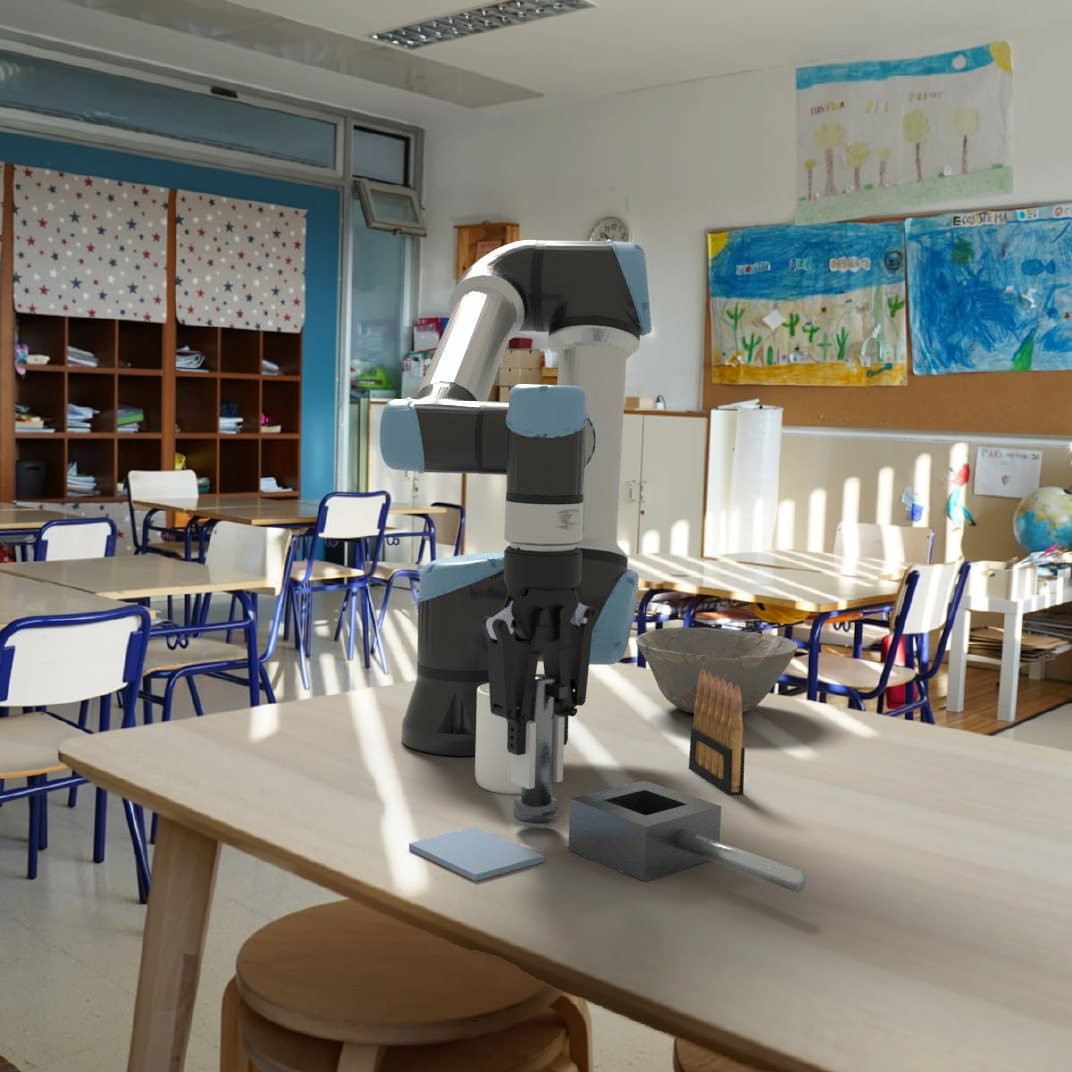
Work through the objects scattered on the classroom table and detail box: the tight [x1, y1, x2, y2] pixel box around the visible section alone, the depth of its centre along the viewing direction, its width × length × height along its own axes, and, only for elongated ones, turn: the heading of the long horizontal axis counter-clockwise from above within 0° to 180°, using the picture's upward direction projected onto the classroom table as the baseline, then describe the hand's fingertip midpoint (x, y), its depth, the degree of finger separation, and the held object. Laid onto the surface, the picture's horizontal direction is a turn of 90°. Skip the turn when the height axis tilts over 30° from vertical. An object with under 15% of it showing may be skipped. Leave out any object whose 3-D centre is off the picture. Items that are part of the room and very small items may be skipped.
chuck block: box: [567, 780, 807, 894], centre depth 115 cm, size 23×10×5 cm, turn 41°
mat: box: [408, 826, 545, 882], centre depth 119 cm, size 10×8×1 cm
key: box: [513, 673, 568, 825], centre depth 126 cm, size 7×4×14 cm, turn 41°
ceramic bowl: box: [635, 626, 798, 714], centre depth 179 cm, size 22×23×10 cm
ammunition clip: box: [688, 669, 746, 796], centre depth 145 cm, size 11×2×12 cm, turn 17°
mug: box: [474, 683, 522, 795], centre depth 143 cm, size 9×12×11 cm
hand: (536, 781), depth 126 cm, fingers closed on key, 3 cm apart
